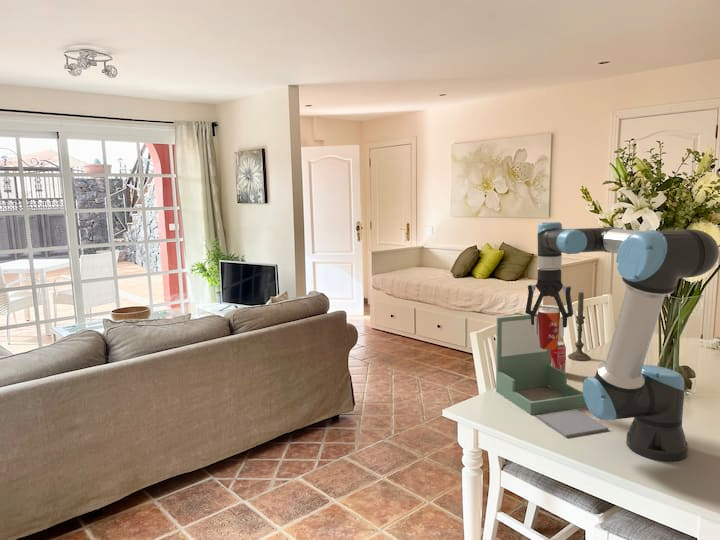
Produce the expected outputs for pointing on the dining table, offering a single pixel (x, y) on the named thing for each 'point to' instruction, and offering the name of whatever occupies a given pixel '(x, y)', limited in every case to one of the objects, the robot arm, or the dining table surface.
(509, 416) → the dining table surface
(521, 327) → the green display box
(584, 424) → the rubber mat
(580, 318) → the candlestick holder
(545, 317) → the paper cup
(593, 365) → the dining table surface
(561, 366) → the soda can
